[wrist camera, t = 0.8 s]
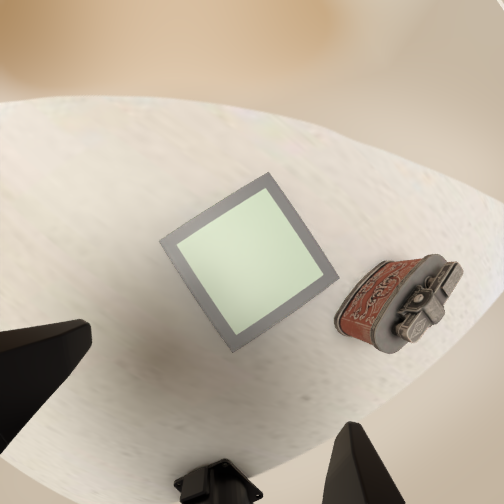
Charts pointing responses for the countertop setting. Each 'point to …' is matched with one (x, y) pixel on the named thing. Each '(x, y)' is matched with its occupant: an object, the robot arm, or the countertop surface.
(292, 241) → the baseplate
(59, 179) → the countertop surface
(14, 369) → the robot arm
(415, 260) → the lighter
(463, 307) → the countertop surface
